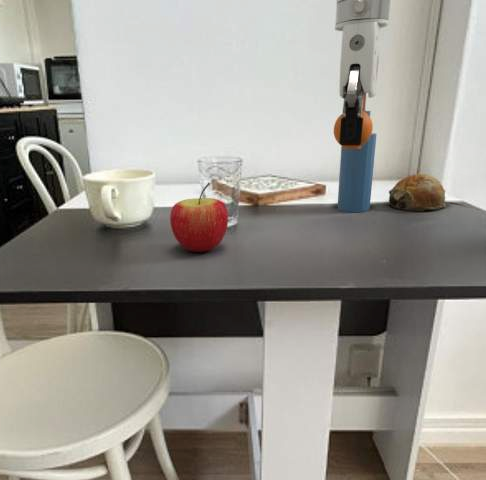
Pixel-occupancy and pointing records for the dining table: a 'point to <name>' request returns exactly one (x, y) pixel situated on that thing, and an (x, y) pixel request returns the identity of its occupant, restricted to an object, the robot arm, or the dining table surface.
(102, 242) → the dining table surface
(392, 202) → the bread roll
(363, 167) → the bottle
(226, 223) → the apple
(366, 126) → the orange
